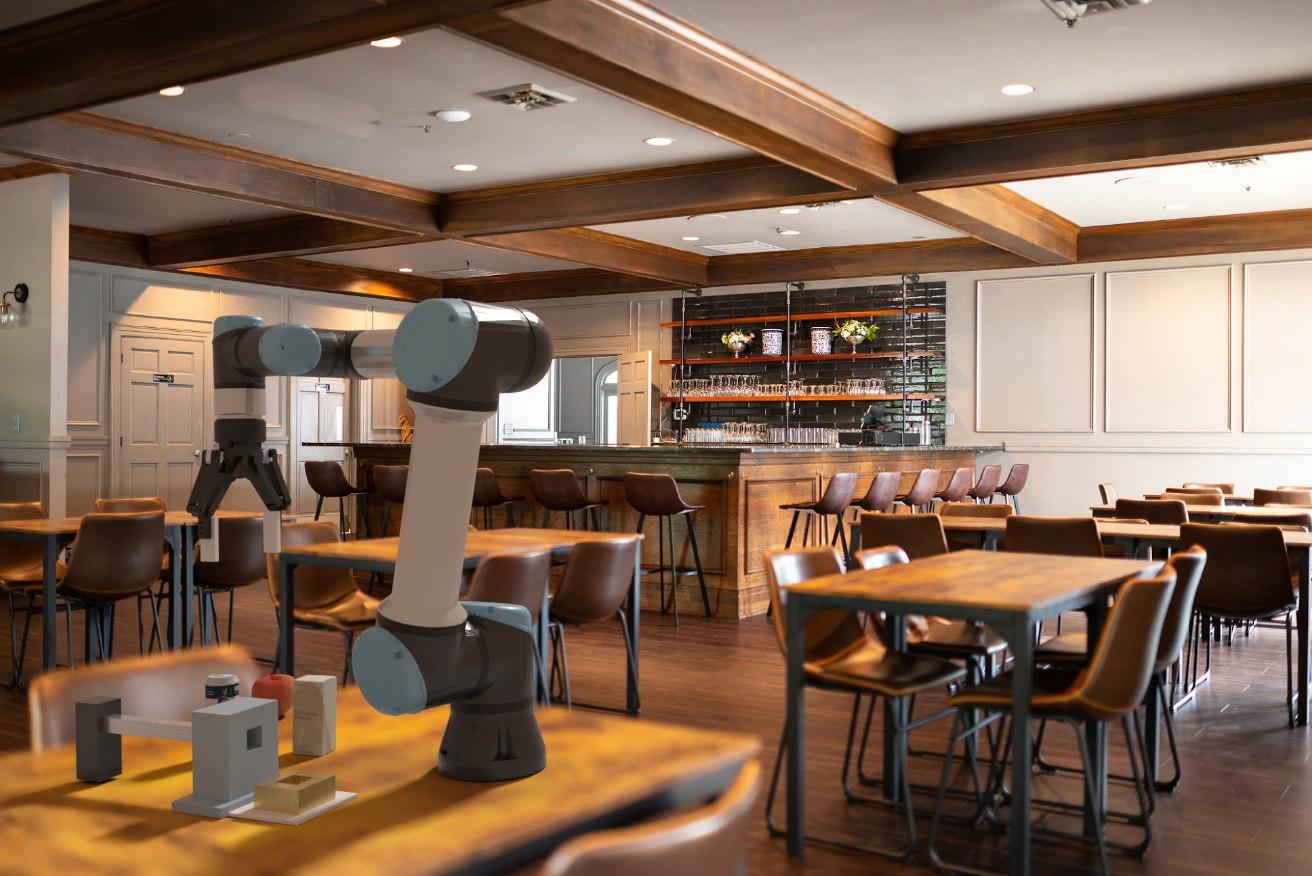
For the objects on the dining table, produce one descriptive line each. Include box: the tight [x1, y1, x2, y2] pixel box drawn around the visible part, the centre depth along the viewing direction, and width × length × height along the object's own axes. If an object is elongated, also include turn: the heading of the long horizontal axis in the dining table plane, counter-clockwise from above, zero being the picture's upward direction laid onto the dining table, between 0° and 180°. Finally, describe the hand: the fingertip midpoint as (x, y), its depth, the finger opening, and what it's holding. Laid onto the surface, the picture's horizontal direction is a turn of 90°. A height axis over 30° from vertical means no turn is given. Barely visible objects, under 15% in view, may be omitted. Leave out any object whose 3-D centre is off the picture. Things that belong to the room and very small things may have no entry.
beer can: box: [204, 672, 240, 708], centre depth 170 cm, size 5×5×12 cm
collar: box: [254, 769, 337, 815], centre depth 147 cm, size 3×7×7 cm
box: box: [291, 674, 338, 757], centre depth 173 cm, size 5×4×11 cm
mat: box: [227, 790, 359, 826], centre depth 147 cm, size 11×12×1 cm
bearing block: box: [171, 696, 280, 819], centre depth 150 cm, size 8×14×12 cm, turn 158°
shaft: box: [74, 695, 192, 783], centre depth 156 cm, size 24×4×10 cm, turn 68°
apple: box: [250, 670, 296, 718], centre depth 195 cm, size 7×7×8 cm
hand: (242, 557), depth 177 cm, fingers open, 13 cm apart
